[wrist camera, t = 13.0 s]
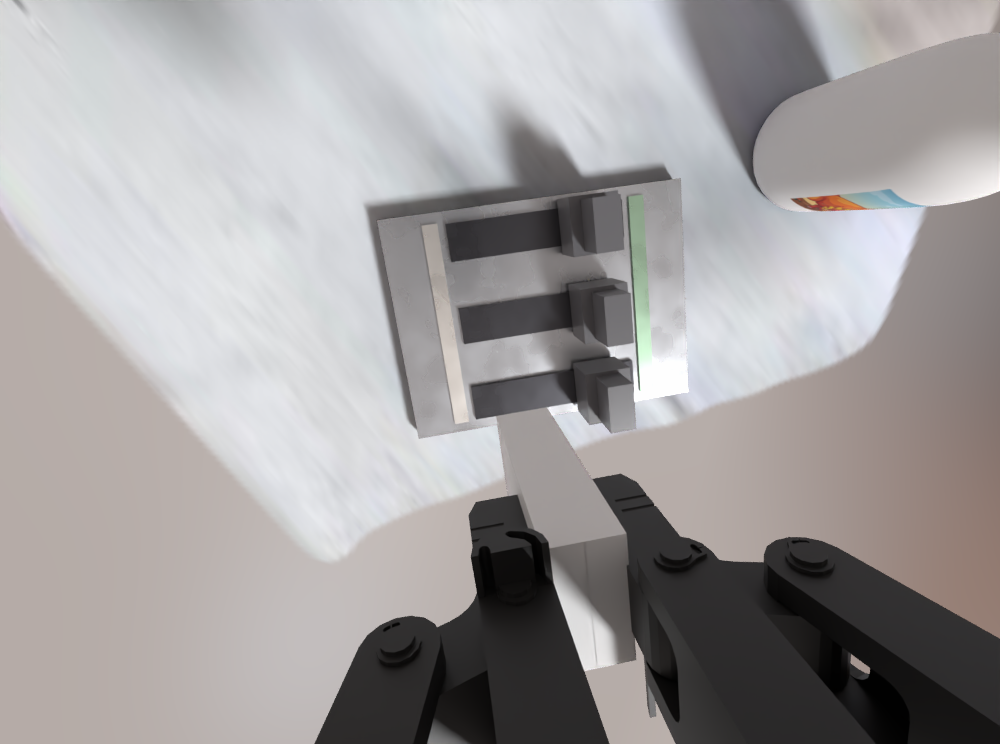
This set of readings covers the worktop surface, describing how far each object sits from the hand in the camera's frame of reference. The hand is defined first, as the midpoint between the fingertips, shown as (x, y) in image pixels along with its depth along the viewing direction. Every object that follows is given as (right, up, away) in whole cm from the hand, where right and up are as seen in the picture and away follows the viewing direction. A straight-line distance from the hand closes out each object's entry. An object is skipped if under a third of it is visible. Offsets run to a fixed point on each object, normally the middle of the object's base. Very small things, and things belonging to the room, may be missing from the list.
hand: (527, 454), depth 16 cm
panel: (+2, +7, +22) cm, 23 cm away
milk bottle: (+20, +18, +21) cm, 34 cm away
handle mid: (+5, +7, +21) cm, 22 cm away
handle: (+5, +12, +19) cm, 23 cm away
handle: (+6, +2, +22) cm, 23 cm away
